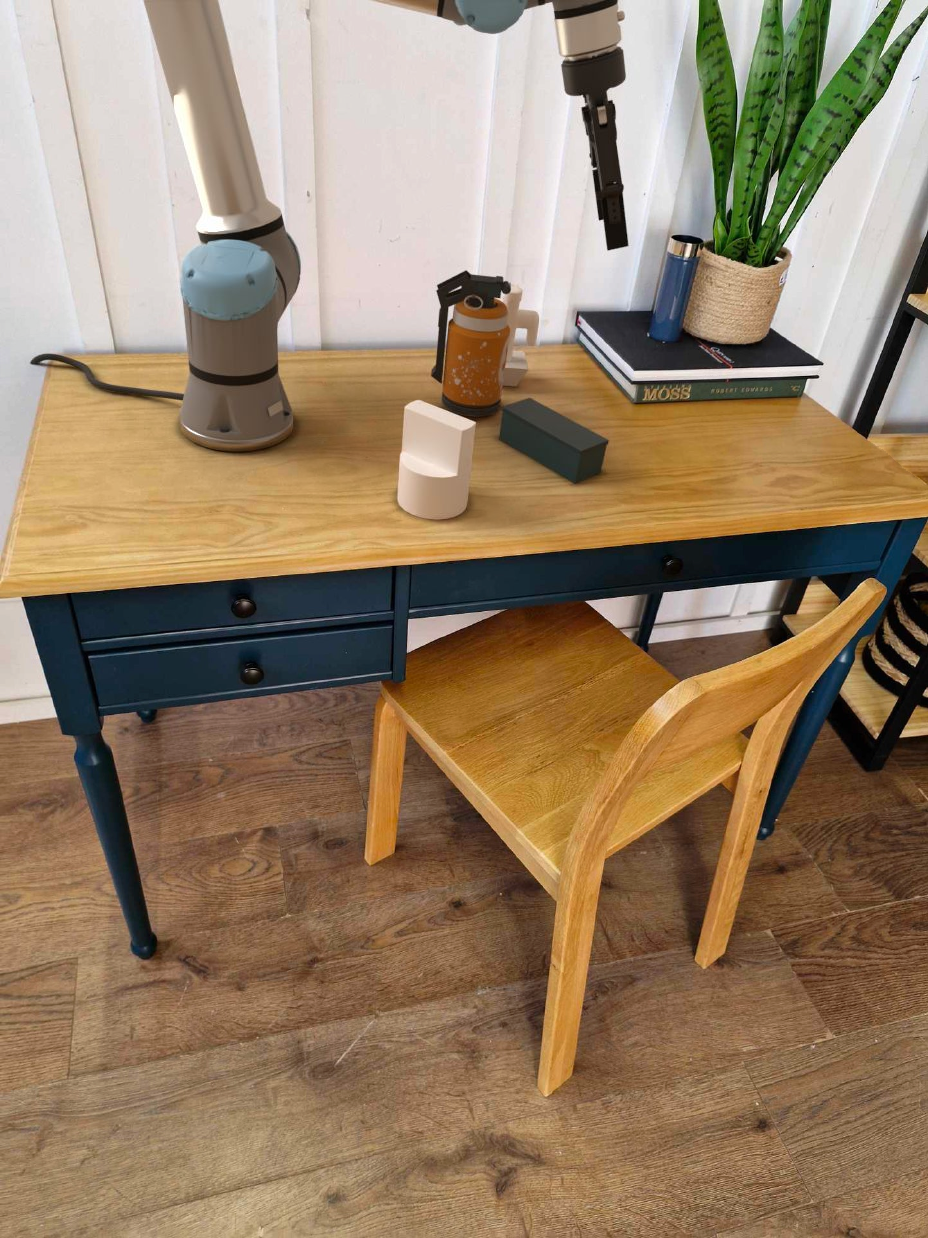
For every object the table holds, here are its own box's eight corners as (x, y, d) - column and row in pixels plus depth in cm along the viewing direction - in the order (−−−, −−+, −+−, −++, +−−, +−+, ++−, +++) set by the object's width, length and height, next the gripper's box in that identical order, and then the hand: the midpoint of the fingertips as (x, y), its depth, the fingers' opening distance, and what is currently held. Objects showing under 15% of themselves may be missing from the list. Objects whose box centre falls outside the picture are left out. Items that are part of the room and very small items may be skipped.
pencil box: (497, 438, 133) (501, 406, 130) (524, 429, 137) (529, 397, 134) (574, 484, 125) (581, 450, 122) (602, 472, 129) (609, 440, 125)
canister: (499, 423, 137) (517, 288, 125) (425, 415, 137) (436, 280, 125) (499, 397, 144) (516, 267, 132) (429, 390, 144) (439, 259, 132)
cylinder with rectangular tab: (480, 499, 120) (491, 414, 112) (440, 527, 114) (449, 440, 106) (424, 475, 123) (431, 391, 116) (383, 501, 117) (387, 414, 110)
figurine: (532, 391, 147) (547, 298, 138) (473, 387, 146) (484, 293, 137) (527, 372, 153) (540, 281, 144) (470, 368, 152) (481, 276, 143)
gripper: (634, 59, 101) (652, 254, 113) (612, 31, 120) (630, 200, 133) (565, 76, 102) (591, 267, 115) (555, 45, 121) (579, 212, 134)
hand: (612, 232), depth 124 cm, fingers open, 13 cm apart
